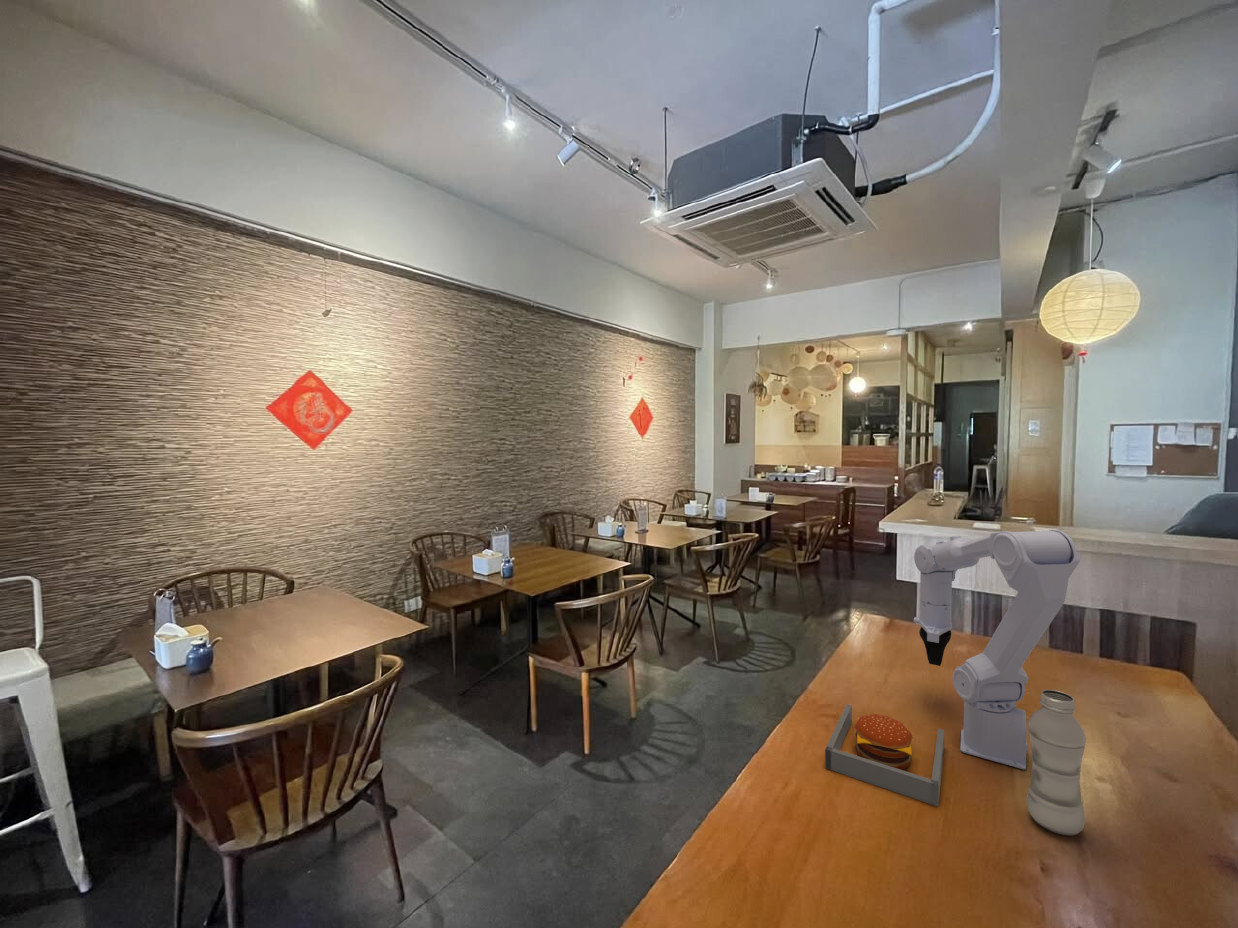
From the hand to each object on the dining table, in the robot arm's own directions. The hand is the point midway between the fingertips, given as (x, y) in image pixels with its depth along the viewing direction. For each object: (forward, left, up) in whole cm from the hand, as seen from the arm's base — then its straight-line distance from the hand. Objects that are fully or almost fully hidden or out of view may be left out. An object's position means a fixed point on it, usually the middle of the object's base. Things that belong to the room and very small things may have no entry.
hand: (934, 663), depth 109 cm
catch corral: (+6, +25, -9) cm, 27 cm away
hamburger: (+7, +24, -10) cm, 27 cm away
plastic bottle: (-17, +29, -10) cm, 35 cm away
